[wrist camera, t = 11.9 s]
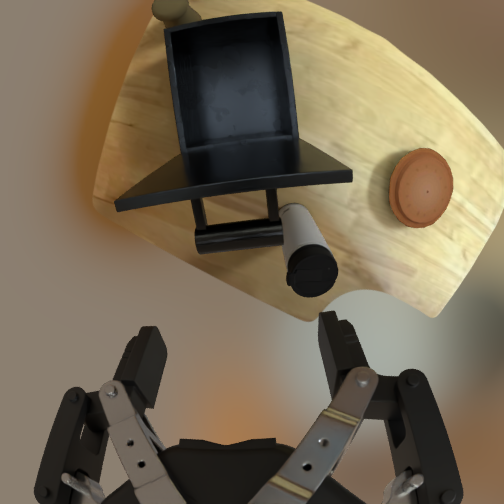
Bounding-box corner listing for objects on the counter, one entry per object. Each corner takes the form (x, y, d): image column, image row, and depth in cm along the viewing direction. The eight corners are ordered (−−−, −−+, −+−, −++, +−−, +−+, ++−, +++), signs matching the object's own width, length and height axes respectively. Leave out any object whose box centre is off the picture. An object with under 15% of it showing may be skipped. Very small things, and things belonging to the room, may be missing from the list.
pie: (368, 205, 49) (378, 215, 45) (398, 131, 42) (412, 134, 38) (424, 231, 51) (436, 241, 47) (452, 166, 45) (466, 172, 40)
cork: (203, 34, 35) (190, 13, 25) (168, 42, 35) (146, 25, 26) (200, 6, 32) (187, -19, 22) (165, 14, 33) (144, -8, 23)
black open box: (185, 49, 36) (163, 29, 25) (273, 37, 35) (282, 11, 24) (199, 145, 44) (181, 155, 33) (286, 134, 43) (299, 140, 32)
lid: (113, 201, 16) (137, 276, 18) (353, 169, 15) (351, 253, 18) (179, 153, 32) (188, 195, 35) (299, 137, 31) (303, 181, 34)
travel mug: (274, 202, 49) (288, 256, 31) (311, 203, 49) (345, 256, 31) (273, 234, 52) (285, 301, 34) (308, 235, 52) (336, 300, 34)
